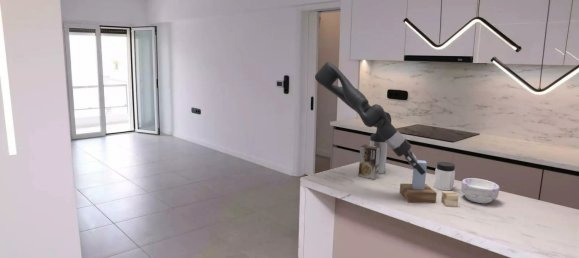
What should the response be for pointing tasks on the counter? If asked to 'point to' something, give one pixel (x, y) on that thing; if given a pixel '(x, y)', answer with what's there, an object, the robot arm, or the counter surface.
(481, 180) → the paper bowls
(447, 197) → the maple cube
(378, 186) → the counter surface
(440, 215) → the counter surface
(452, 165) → the jar
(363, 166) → the coffee box
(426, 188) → the walnut block
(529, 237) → the counter surface
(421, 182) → the light blue block
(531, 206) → the counter surface
